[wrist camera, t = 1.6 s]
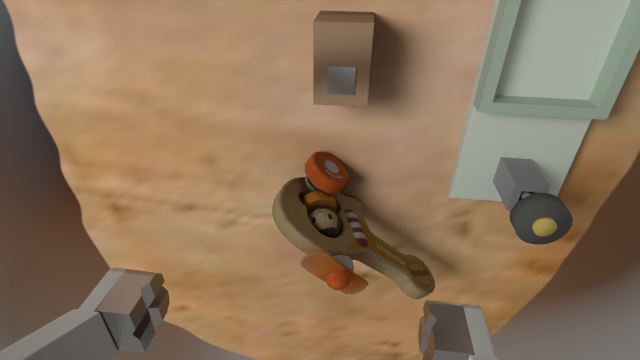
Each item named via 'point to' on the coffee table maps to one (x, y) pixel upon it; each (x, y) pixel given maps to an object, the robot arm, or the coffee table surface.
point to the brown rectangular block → (342, 57)
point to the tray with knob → (541, 93)
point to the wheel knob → (540, 218)
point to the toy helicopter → (340, 232)
